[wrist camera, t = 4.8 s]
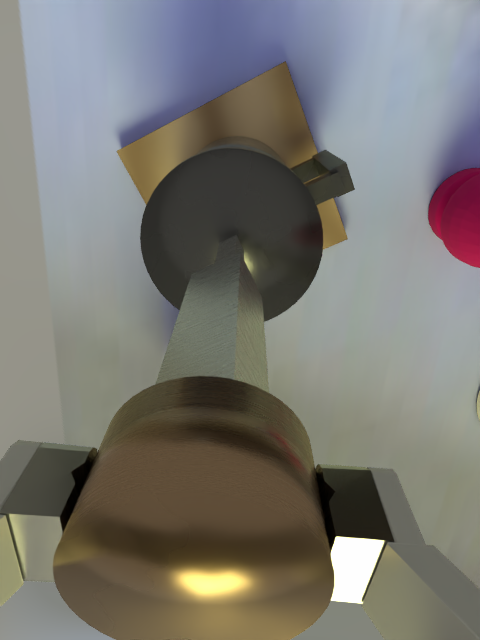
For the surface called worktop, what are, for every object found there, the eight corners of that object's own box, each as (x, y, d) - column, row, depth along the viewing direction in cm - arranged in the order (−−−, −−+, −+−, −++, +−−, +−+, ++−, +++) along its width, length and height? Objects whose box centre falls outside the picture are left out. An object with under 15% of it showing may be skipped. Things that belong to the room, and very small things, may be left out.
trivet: (284, 63, 30) (285, 61, 29) (344, 234, 36) (347, 239, 35) (121, 149, 33) (116, 151, 32) (201, 294, 39) (200, 301, 38)
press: (300, 91, 30) (408, 71, 10) (343, 213, 34) (479, 374, 14) (155, 166, 32) (7, 269, 12) (210, 271, 36) (165, 476, 16)
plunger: (254, 215, 16) (268, 451, 5) (296, 309, 18) (370, 627, 7) (155, 260, 17) (-9, 541, 6) (204, 345, 19) (146, 675, 8)
